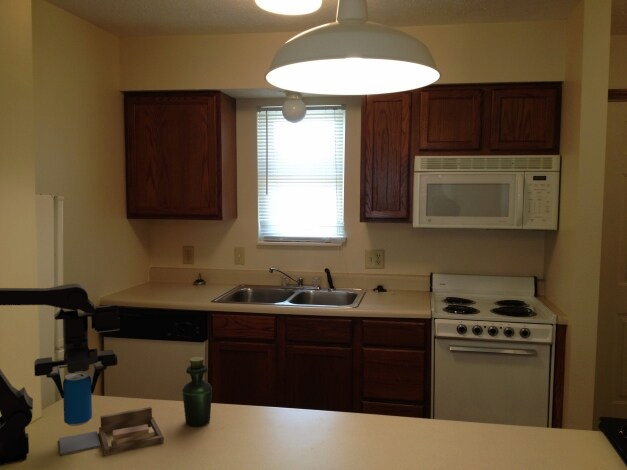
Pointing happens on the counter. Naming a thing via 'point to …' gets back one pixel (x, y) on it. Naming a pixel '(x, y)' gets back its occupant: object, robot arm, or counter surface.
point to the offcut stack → (131, 434)
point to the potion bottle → (197, 395)
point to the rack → (126, 421)
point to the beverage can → (77, 398)
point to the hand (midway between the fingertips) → (77, 395)
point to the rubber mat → (79, 442)
